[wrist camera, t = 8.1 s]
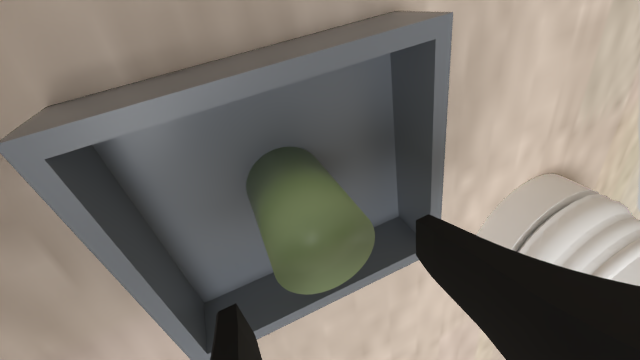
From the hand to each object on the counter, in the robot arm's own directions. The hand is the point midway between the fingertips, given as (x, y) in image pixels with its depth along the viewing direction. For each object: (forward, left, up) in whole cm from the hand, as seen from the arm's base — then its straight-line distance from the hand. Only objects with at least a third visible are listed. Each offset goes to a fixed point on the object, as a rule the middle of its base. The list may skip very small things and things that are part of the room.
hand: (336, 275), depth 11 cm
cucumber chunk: (0, 0, -7) cm, 7 cm away
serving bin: (0, 0, -8) cm, 8 cm away
